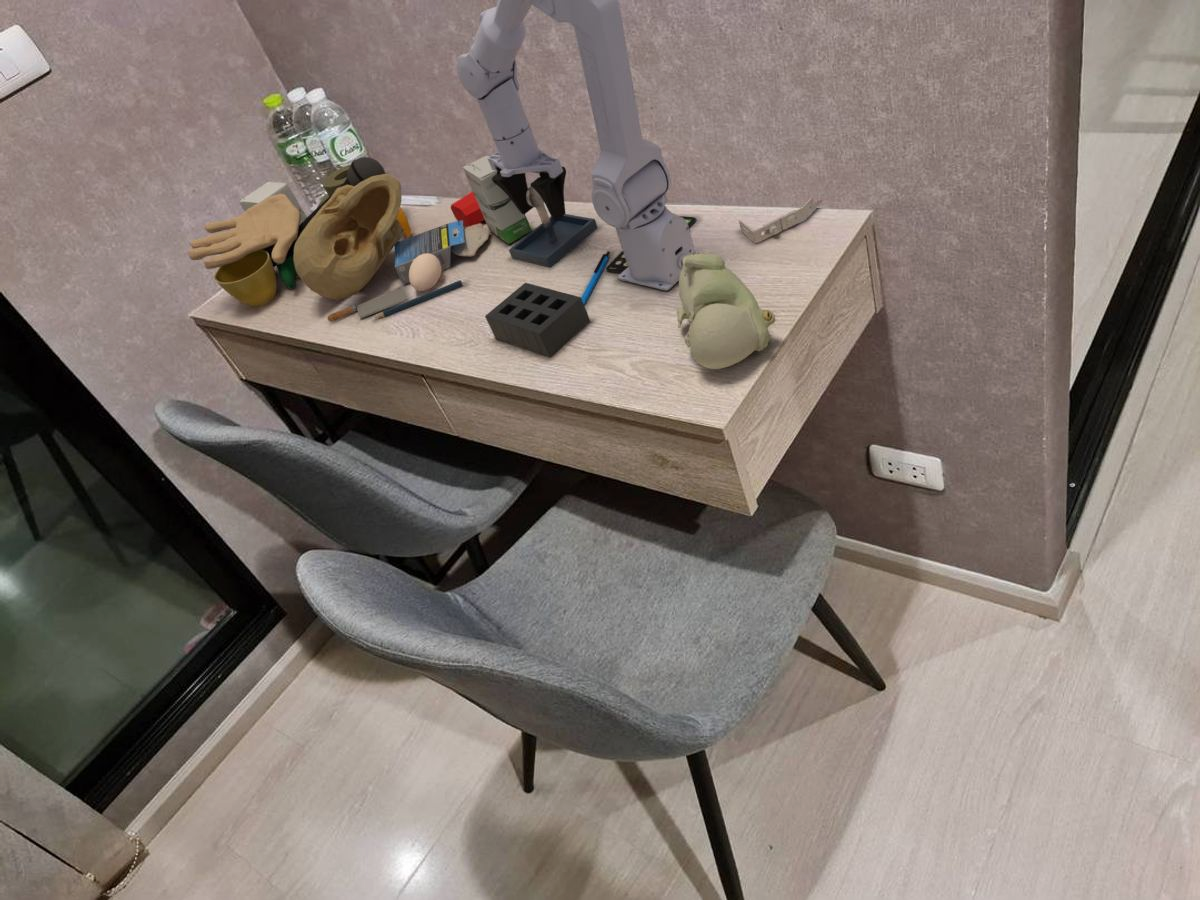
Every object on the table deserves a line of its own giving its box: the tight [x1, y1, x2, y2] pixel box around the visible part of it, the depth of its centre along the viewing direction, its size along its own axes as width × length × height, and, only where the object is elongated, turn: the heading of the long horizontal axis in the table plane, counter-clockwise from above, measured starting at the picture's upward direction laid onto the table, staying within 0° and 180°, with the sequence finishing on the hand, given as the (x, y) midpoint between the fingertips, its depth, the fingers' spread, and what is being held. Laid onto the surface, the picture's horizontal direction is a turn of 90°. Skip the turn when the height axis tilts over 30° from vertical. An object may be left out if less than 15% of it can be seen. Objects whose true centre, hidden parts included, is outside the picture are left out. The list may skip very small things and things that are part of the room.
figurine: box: [676, 253, 777, 370], centre depth 101 cm, size 10×16×10 cm
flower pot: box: [214, 250, 277, 308], centre depth 152 cm, size 10×10×7 cm
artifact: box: [450, 223, 490, 257], centre depth 142 cm, size 7×3×10 cm
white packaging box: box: [238, 181, 308, 225], centre depth 162 cm, size 7×7×13 cm
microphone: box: [298, 156, 386, 236], centre depth 150 cm, size 7×7×20 cm
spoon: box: [526, 185, 557, 243], centre depth 132 cm, size 1×3×10 cm, turn 137°
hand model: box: [187, 194, 301, 270], centre depth 149 cm, size 19×5×20 cm
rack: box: [484, 282, 591, 358], centre depth 116 cm, size 12×8×4 cm
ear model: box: [293, 173, 403, 300], centre depth 140 cm, size 13×20×20 cm
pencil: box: [374, 279, 464, 319], centre depth 135 cm, size 1×1×15 cm
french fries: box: [450, 191, 485, 228], centre depth 150 cm, size 8×4×12 cm
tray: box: [508, 213, 598, 268], centre depth 135 cm, size 9×11×2 cm
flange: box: [317, 164, 390, 208], centre depth 155 cm, size 5×15×15 cm
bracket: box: [738, 197, 823, 244], centre depth 118 cm, size 2×6×15 cm
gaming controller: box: [276, 254, 300, 289], centre depth 155 cm, size 9×4×6 cm
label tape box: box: [394, 220, 465, 286], centre depth 142 cm, size 9×4×12 cm
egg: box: [409, 253, 442, 292], centre depth 136 cm, size 5×5×7 cm
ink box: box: [462, 154, 533, 245], centre depth 139 cm, size 9×5×12 cm, turn 29°
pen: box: [580, 250, 610, 306], centre depth 121 cm, size 1×19×1 cm, turn 161°
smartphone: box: [605, 215, 697, 275], centre depth 125 cm, size 7×1×15 cm
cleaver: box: [327, 285, 409, 323], centre depth 138 cm, size 13×1×5 cm
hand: (543, 213), depth 132 cm, fingers open, 7 cm apart
